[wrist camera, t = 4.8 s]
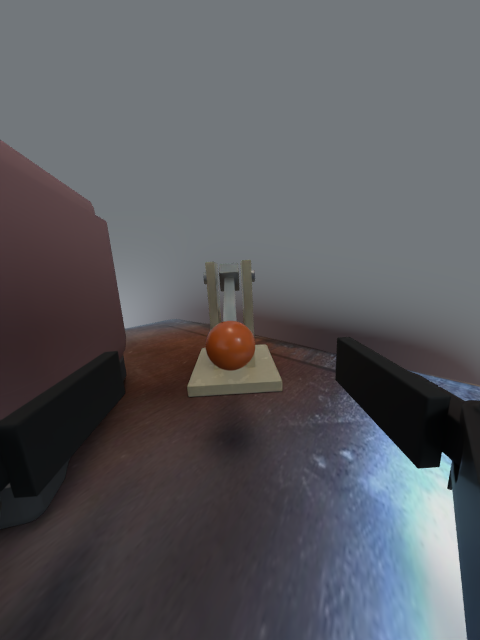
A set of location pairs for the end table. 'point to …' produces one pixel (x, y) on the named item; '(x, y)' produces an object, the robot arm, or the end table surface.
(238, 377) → the bracket
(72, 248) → the toaster
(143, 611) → the end table surface
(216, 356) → the lever
